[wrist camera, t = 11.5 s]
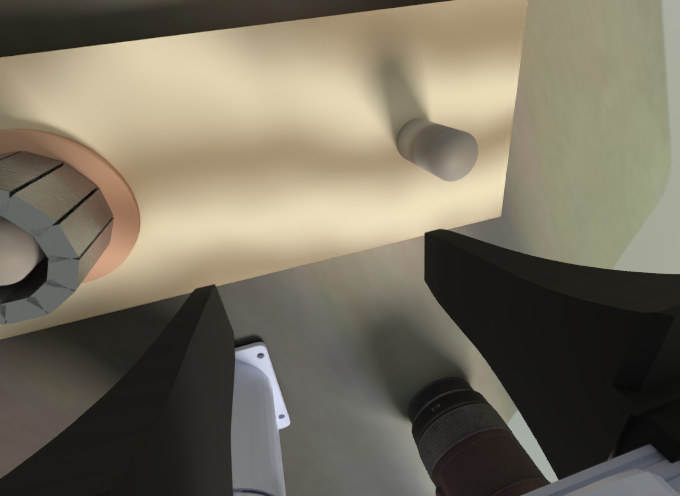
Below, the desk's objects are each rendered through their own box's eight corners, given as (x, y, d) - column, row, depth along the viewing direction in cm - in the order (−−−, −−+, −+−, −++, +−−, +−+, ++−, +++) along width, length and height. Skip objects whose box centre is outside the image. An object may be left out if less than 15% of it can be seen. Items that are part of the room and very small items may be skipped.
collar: (139, 216, 16) (112, 258, 13) (61, 287, 17) (15, 345, 13) (15, 123, 13) (-63, 143, 10) (-73, 212, 14) (-175, 261, 10)
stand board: (486, 208, 24) (553, 246, 19) (4, 323, 19) (-82, 418, 14) (508, -4, 18) (615, -32, 13) (-194, 85, 13) (-476, 99, 8)
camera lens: (458, 426, 36) (579, 623, 23) (391, 432, 33) (485, 659, 21) (489, 370, 33) (649, 564, 20) (417, 372, 30) (548, 598, 17)
